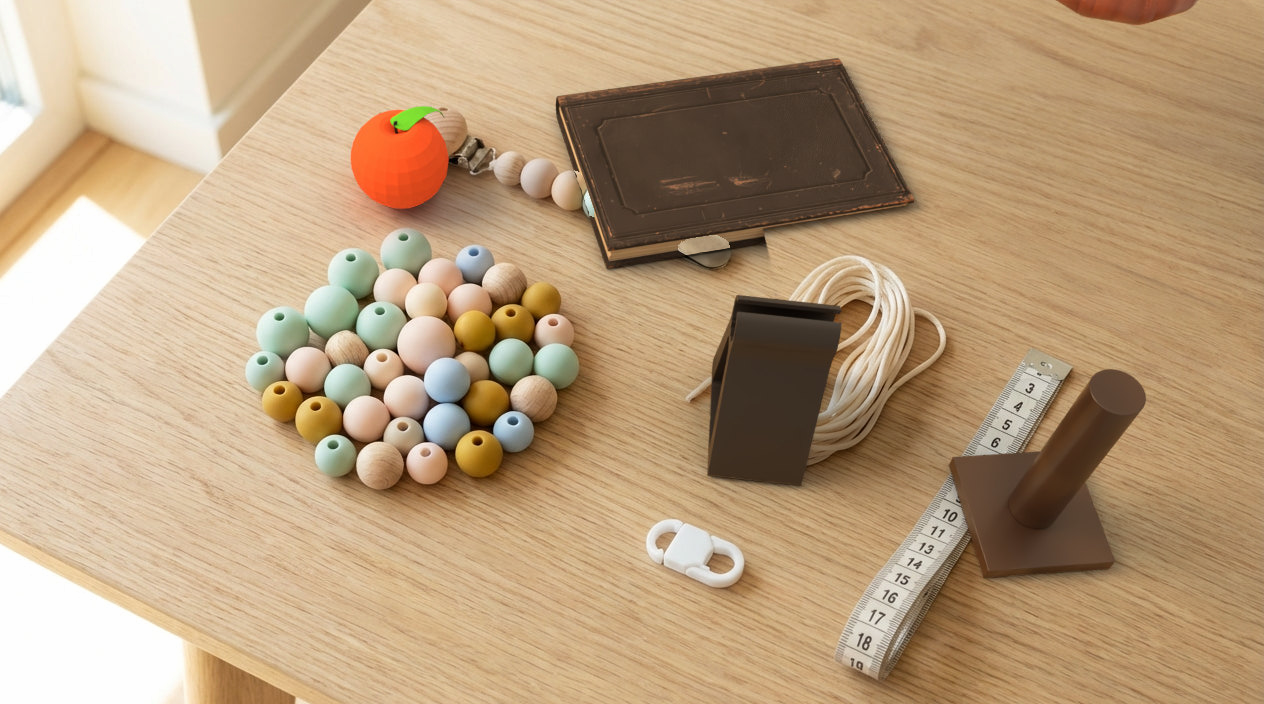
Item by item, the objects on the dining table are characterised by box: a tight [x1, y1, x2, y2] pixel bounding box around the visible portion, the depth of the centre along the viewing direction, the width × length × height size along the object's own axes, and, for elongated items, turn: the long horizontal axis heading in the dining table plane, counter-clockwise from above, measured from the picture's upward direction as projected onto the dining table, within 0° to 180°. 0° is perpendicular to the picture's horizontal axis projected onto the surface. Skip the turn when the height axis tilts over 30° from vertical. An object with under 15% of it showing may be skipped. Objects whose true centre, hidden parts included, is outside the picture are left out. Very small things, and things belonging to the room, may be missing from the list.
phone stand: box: [706, 294, 842, 486], centre depth 75 cm, size 9×6×12 cm, turn 174°
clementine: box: [350, 105, 450, 210], centre depth 87 cm, size 8×7×7 cm
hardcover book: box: [555, 57, 916, 270], centre depth 92 cm, size 16×23×2 cm
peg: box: [948, 368, 1147, 579], centre depth 71 cm, size 8×8×14 cm
